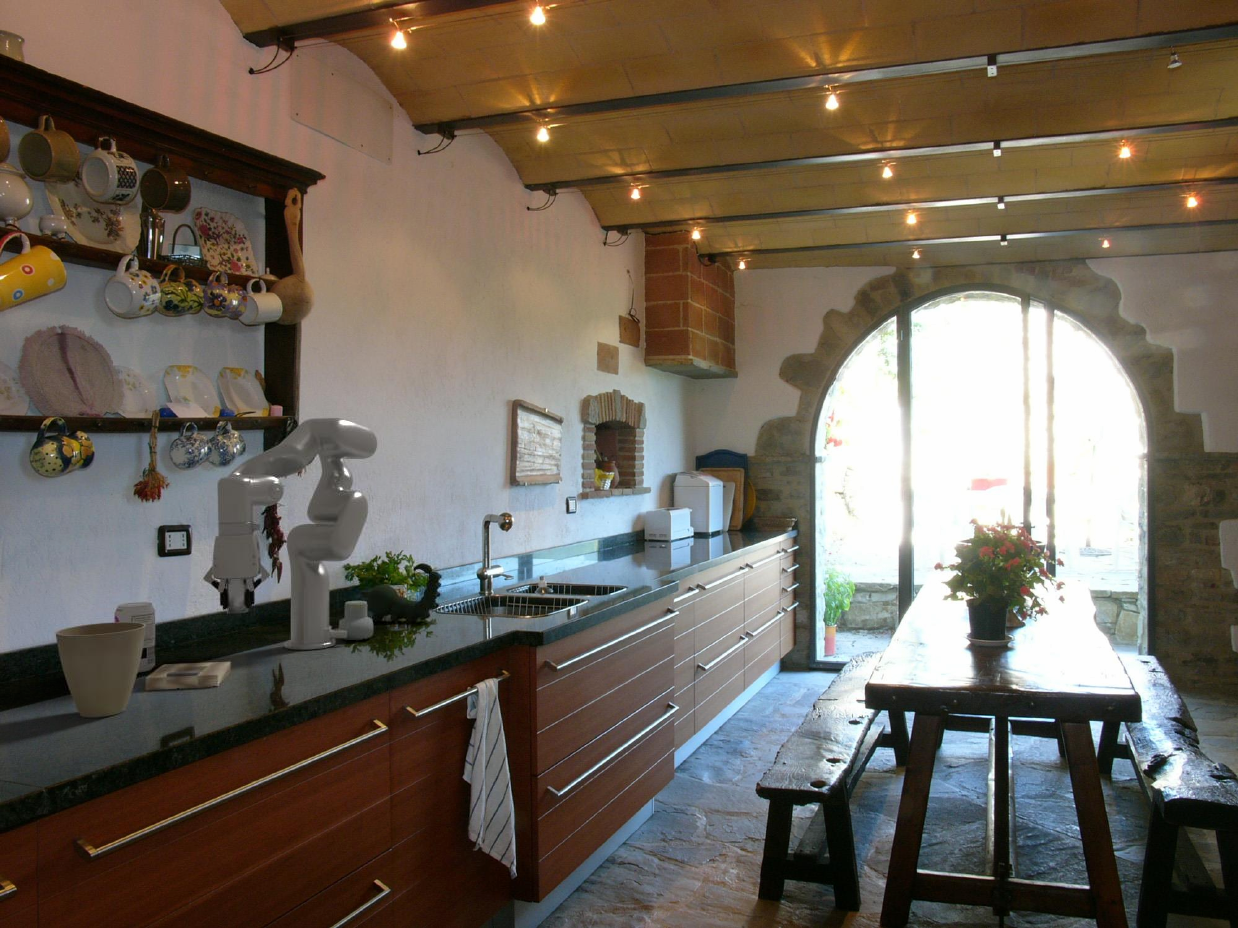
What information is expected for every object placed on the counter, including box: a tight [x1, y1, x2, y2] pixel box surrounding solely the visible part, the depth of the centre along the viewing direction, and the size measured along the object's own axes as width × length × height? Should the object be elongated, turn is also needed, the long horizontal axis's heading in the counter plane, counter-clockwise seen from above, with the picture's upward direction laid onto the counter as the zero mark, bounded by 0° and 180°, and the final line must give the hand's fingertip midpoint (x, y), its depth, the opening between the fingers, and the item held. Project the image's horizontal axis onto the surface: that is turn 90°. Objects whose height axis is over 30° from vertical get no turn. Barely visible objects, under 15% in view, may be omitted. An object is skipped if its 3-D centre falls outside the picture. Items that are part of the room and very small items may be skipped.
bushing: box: [226, 578, 249, 615], centre depth 218 cm, size 5×5×8 cm
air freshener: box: [338, 600, 374, 641], centre depth 254 cm, size 11×8×10 cm
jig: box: [145, 661, 232, 691], centre depth 203 cm, size 14×14×3 cm
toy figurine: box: [358, 563, 442, 624], centre depth 283 cm, size 9×19×25 cm
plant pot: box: [55, 621, 146, 718], centre depth 176 cm, size 15×15×16 cm
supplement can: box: [114, 601, 156, 674], centre depth 215 cm, size 8×8×15 cm
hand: (237, 607), depth 218 cm, fingers closed on bushing, 4 cm apart
